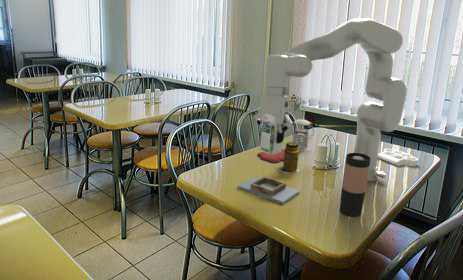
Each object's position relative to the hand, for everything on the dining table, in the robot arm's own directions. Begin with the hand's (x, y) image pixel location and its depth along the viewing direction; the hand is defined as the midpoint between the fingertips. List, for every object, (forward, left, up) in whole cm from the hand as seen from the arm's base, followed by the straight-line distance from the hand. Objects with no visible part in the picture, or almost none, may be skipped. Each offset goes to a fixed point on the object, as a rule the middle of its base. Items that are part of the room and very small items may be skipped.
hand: (271, 140), depth 132 cm
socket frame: (0, 0, -20) cm, 20 cm away
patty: (+18, -35, -21) cm, 45 cm away
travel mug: (-30, -5, -20) cm, 37 cm away
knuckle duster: (-28, -72, -21) cm, 80 cm away
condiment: (+5, -24, -20) cm, 32 cm away
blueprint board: (0, 0, -20) cm, 20 cm away
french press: (+15, -55, -20) cm, 61 cm away
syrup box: (0, 0, -5) cm, 5 cm away
